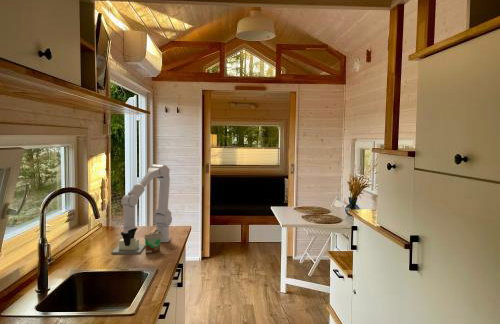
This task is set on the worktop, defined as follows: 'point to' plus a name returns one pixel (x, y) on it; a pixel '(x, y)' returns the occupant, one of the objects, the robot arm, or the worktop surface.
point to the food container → (153, 242)
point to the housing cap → (133, 245)
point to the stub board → (138, 251)
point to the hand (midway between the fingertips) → (129, 243)
